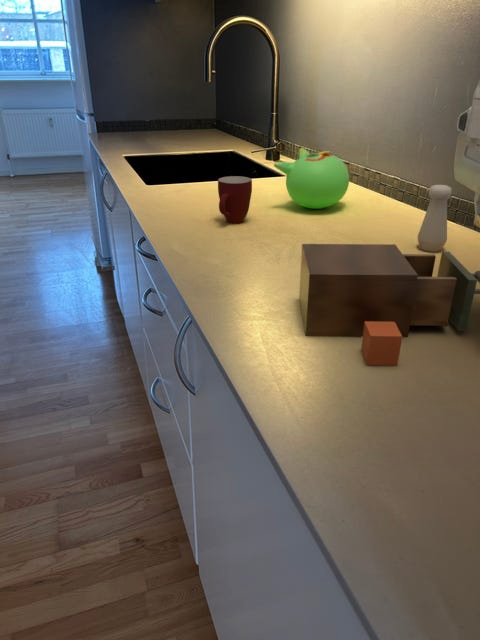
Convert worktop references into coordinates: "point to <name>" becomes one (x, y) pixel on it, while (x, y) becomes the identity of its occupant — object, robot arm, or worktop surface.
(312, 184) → the toy bird
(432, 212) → the salt shaker
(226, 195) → the mug
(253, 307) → the worktop surface
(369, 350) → the block
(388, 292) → the cabinet
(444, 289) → the drawer
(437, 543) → the worktop surface
